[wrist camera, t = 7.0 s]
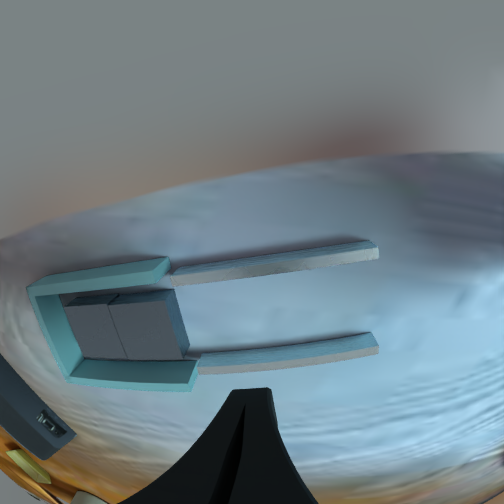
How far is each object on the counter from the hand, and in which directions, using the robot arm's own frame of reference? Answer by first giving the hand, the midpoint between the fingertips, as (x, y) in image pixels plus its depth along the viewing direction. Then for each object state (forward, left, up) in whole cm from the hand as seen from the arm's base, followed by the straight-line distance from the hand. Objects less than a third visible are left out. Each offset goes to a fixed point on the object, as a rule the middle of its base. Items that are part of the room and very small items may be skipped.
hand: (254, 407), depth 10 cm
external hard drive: (+33, +10, -9) cm, 35 cm away
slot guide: (-1, 0, -8) cm, 8 cm away
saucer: (+47, +30, -9) cm, 56 cm away
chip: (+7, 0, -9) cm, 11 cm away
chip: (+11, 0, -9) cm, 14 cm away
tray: (+10, 0, -8) cm, 13 cm away
